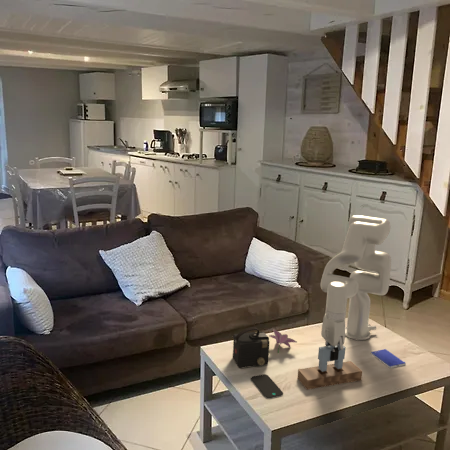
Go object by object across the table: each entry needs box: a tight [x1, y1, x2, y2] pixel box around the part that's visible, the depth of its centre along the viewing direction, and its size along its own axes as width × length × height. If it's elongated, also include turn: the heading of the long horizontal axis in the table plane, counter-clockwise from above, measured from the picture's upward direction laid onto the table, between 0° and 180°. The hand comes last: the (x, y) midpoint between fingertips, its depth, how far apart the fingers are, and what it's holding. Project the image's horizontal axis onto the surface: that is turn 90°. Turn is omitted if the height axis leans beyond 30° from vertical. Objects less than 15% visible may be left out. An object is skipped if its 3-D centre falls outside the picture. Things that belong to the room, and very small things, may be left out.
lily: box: [268, 328, 298, 353], centre depth 209 cm, size 12×12×10 cm
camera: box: [232, 326, 270, 369], centre depth 197 cm, size 11×14×15 cm
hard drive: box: [370, 348, 406, 369], centre depth 205 cm, size 2×8×12 cm
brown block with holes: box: [297, 360, 363, 390], centre depth 187 cm, size 24×8×4 cm, turn 109°
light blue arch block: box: [317, 345, 347, 372], centre depth 185 cm, size 10×3×9 cm, turn 109°
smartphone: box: [250, 373, 284, 400], centre depth 182 cm, size 8×1×15 cm
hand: (331, 357), depth 185 cm, fingers closed on light blue arch block, 3 cm apart
